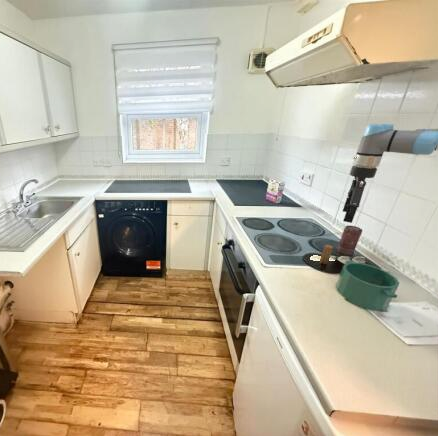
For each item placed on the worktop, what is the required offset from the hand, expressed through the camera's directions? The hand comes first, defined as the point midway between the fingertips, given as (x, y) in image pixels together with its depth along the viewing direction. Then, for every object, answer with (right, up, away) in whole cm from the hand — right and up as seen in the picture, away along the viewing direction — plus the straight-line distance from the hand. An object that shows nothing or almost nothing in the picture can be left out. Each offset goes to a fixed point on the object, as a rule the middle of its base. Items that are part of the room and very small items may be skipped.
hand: (346, 216), depth 101 cm
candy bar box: (+13, +12, +84) cm, 86 cm away
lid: (-7, -21, +4) cm, 22 cm away
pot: (-7, -29, -14) cm, 33 cm away
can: (+9, -18, +12) cm, 24 cm away
